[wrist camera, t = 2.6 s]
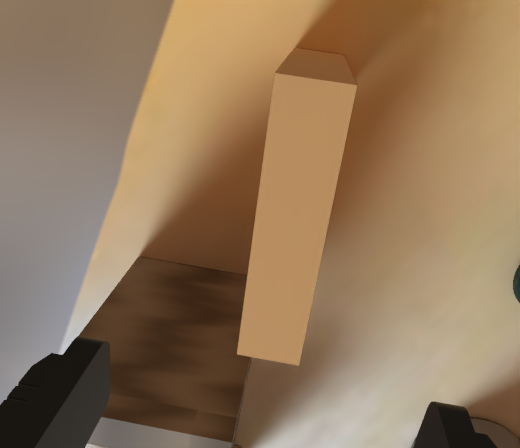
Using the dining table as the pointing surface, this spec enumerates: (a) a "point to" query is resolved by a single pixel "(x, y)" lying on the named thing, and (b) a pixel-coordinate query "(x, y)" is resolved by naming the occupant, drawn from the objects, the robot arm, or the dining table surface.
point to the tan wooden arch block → (295, 201)
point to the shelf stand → (172, 357)
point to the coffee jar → (517, 284)
